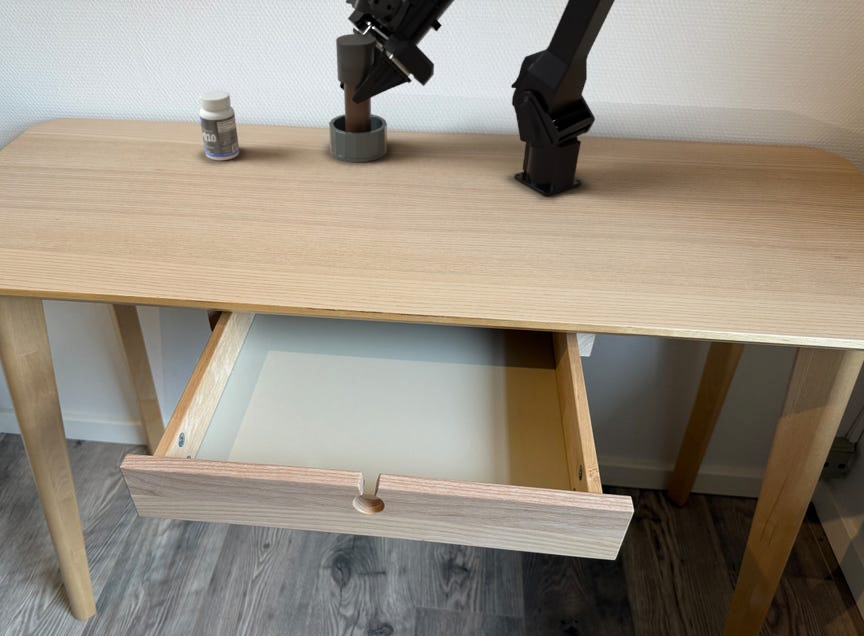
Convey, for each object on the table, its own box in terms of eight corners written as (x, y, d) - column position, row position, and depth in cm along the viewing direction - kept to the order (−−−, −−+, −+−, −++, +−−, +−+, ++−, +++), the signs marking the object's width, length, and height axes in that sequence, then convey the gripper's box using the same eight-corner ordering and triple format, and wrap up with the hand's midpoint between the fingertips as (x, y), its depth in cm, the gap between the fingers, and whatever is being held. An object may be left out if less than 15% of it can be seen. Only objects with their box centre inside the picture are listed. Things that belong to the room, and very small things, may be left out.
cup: (397, 154, 101) (397, 126, 98) (348, 167, 98) (347, 138, 95) (368, 135, 106) (367, 109, 104) (320, 147, 103) (319, 119, 100)
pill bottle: (199, 153, 101) (189, 93, 96) (228, 145, 103) (220, 86, 98) (216, 164, 98) (207, 103, 93) (246, 155, 101) (238, 95, 95)
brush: (384, 146, 101) (383, 41, 92) (352, 153, 98) (348, 47, 90) (365, 134, 104) (363, 31, 95) (333, 141, 102) (328, 37, 93)
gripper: (360, -61, 94) (286, 36, 98) (413, -34, 80) (324, 77, 85) (414, 0, 101) (343, 88, 105) (471, 33, 87) (386, 133, 92)
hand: (347, 95), depth 96 cm, fingers closed on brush, 5 cm apart
